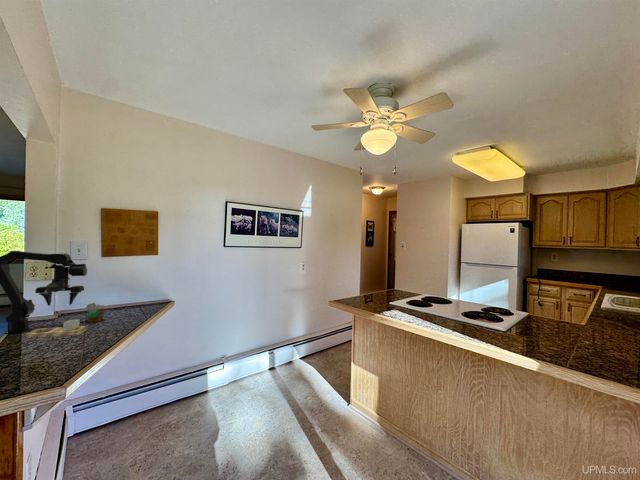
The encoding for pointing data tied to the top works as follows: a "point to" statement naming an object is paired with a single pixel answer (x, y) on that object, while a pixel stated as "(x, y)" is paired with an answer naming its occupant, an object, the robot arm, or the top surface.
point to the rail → (54, 332)
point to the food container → (95, 313)
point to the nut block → (71, 325)
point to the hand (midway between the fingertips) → (59, 305)
